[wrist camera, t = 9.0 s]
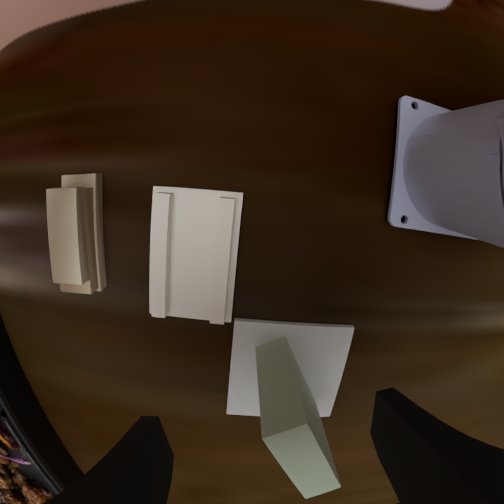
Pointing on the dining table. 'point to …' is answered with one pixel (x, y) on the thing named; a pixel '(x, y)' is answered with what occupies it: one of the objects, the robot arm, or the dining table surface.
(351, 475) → the dining table surface
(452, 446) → the robot arm
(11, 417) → the food platter
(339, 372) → the mat
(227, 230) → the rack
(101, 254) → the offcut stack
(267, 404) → the grey green block
